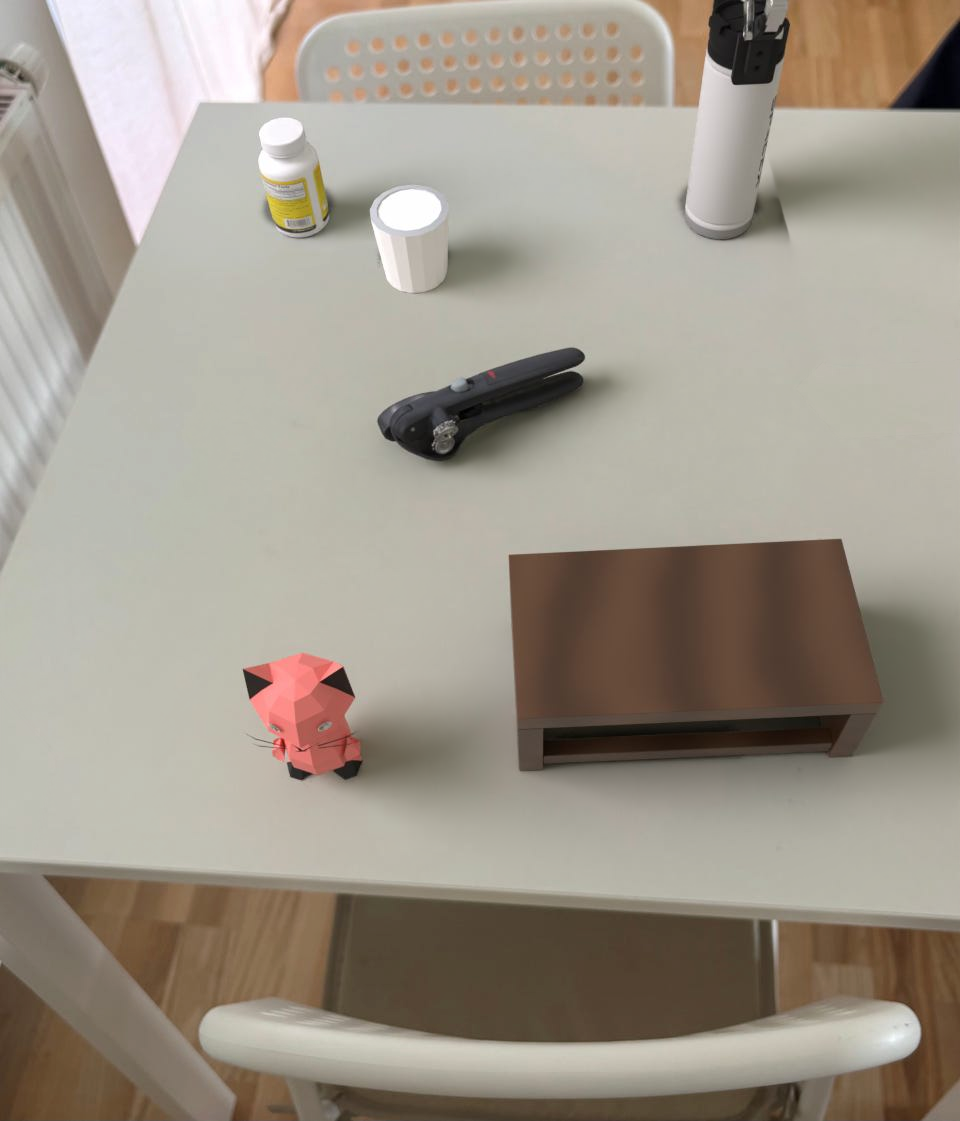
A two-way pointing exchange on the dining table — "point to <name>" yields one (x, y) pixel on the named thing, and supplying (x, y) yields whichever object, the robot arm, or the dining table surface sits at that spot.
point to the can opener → (478, 402)
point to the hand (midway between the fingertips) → (741, 46)
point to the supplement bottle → (292, 178)
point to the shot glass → (412, 236)
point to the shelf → (689, 649)
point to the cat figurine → (306, 714)
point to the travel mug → (729, 132)
